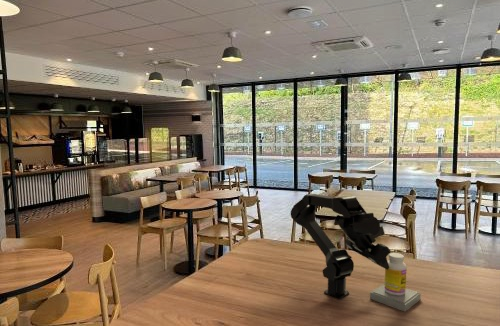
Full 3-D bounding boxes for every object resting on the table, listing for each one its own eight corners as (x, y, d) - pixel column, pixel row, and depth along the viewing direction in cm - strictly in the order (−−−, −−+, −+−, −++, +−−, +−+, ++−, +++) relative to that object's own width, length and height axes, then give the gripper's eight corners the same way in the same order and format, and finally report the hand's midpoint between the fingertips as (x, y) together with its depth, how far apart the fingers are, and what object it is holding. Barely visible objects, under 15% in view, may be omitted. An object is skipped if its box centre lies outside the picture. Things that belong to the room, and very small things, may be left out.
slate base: (404, 311, 114) (405, 304, 114) (369, 298, 123) (370, 291, 122) (420, 299, 122) (420, 292, 122) (386, 288, 131) (386, 281, 131)
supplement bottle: (402, 298, 118) (403, 260, 116) (381, 292, 122) (383, 255, 120) (407, 291, 123) (409, 254, 122) (387, 285, 127) (389, 250, 126)
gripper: (388, 221, 112) (414, 256, 116) (356, 209, 130) (379, 239, 134) (363, 246, 111) (390, 280, 114) (334, 230, 129) (358, 260, 132)
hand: (379, 263), depth 124 cm, fingers open, 9 cm apart
